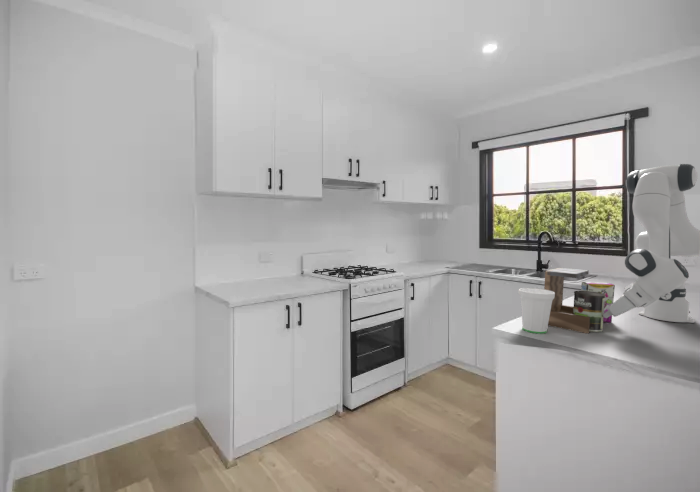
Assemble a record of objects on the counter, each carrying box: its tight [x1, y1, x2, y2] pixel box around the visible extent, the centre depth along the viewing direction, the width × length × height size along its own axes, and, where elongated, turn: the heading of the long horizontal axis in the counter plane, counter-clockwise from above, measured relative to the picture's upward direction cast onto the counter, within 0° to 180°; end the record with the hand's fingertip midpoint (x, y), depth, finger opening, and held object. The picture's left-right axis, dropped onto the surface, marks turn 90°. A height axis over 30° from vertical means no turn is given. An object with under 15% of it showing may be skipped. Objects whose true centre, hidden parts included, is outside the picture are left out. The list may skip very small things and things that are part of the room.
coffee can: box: [573, 290, 605, 333], centre depth 143 cm, size 10×10×14 cm
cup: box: [518, 287, 555, 334], centre depth 139 cm, size 12×12×15 cm
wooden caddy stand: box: [543, 267, 590, 334], centre depth 147 cm, size 18×16×22 cm
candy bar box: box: [580, 281, 615, 323], centre depth 155 cm, size 11×5×16 cm, turn 84°
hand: (604, 316), depth 139 cm, fingers closed, pressing on coffee can
